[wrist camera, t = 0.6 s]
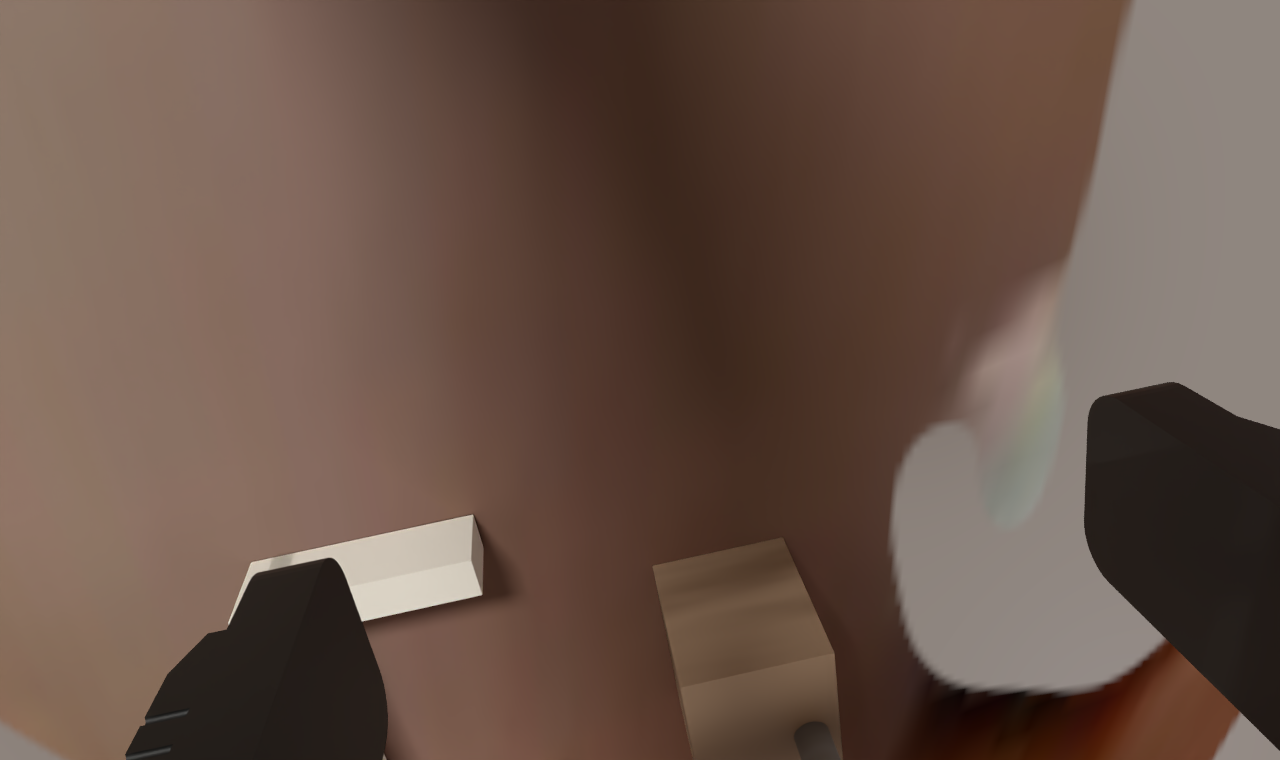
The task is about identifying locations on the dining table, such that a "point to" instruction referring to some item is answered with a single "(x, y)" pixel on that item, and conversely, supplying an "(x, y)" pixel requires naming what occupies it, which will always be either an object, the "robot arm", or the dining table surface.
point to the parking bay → (401, 567)
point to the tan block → (749, 656)
